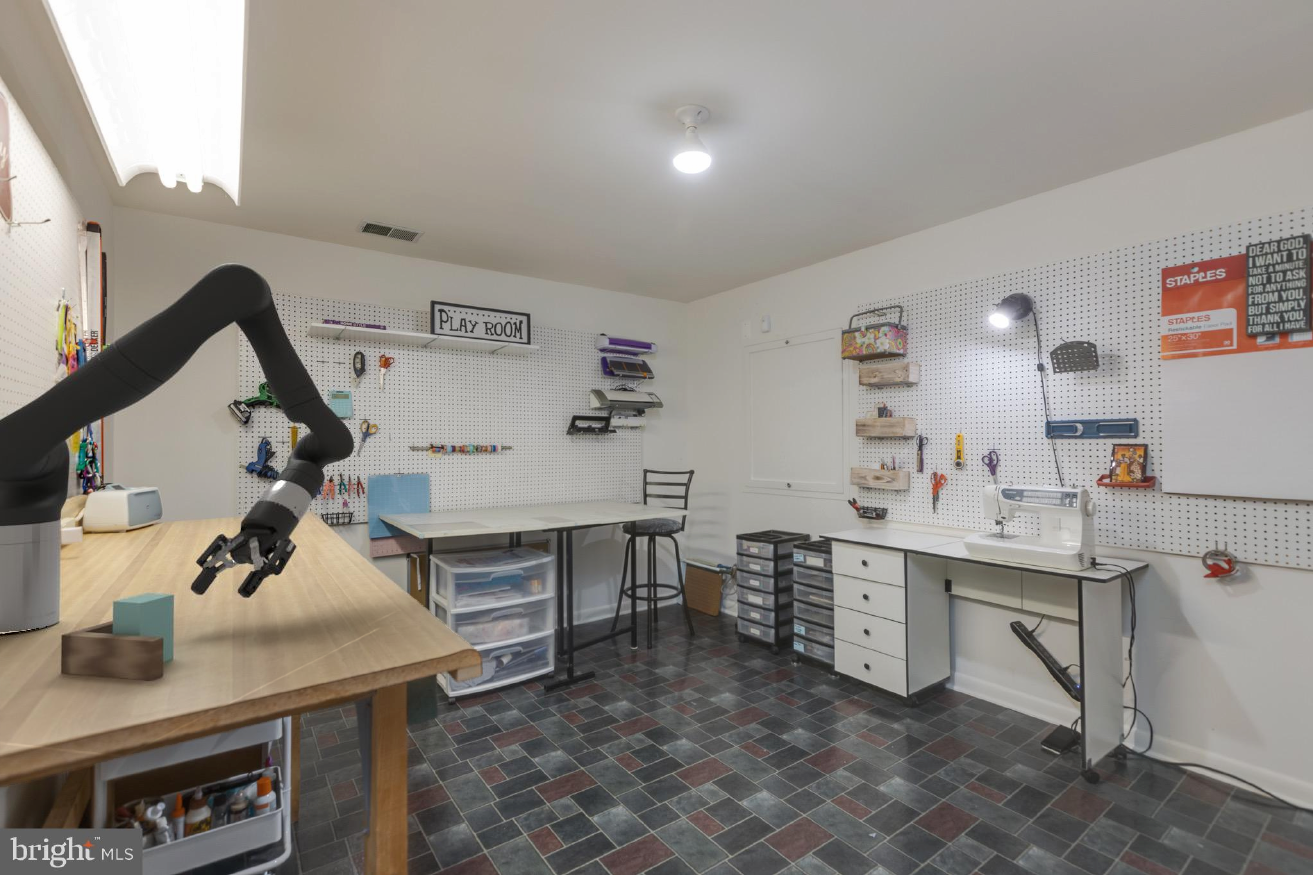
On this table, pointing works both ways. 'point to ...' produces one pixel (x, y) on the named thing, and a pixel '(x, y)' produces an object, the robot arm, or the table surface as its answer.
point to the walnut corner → (111, 654)
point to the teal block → (146, 618)
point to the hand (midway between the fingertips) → (219, 593)
